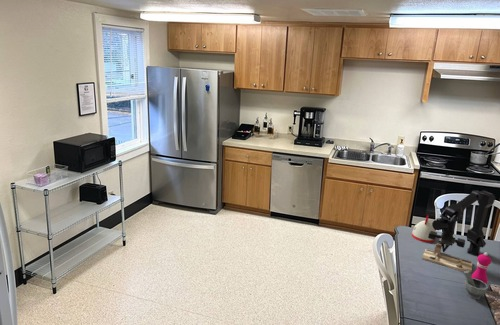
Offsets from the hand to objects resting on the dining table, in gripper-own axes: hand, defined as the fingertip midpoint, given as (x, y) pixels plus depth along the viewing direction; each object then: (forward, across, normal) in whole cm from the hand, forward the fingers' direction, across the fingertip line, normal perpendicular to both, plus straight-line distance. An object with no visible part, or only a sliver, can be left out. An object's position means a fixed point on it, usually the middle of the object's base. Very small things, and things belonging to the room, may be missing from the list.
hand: (443, 251), depth 215 cm
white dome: (+4, -14, +22) cm, 26 cm away
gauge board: (+4, +3, -2) cm, 6 cm away
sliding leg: (+2, -3, -2) cm, 4 cm away
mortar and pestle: (+4, +17, -30) cm, 35 cm away
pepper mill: (+4, +19, -20) cm, 28 cm away
